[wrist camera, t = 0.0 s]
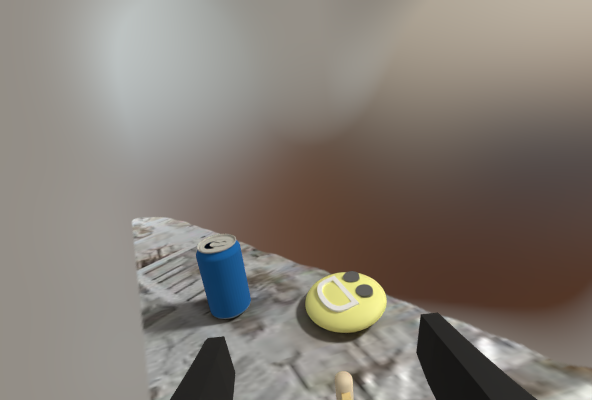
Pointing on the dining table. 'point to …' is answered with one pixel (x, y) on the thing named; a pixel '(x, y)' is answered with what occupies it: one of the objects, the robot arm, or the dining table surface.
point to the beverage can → (223, 275)
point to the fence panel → (344, 386)
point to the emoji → (345, 302)
